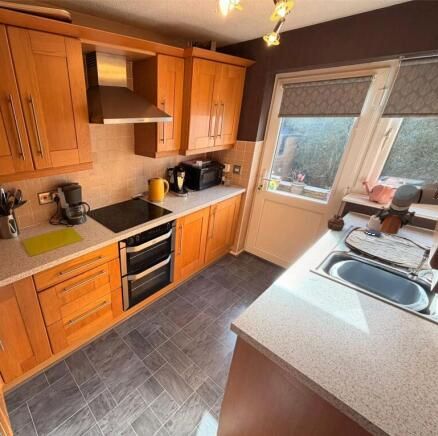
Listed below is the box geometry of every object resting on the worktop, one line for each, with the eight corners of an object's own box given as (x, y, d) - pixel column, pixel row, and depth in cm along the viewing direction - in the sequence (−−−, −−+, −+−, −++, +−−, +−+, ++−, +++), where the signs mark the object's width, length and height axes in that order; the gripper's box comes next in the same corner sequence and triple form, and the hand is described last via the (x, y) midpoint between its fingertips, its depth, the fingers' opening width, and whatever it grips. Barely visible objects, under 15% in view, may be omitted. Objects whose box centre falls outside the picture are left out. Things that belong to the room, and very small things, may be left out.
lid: (367, 230, 160) (368, 228, 159) (382, 235, 153) (383, 232, 153) (361, 232, 157) (362, 230, 156) (376, 237, 150) (377, 235, 149)
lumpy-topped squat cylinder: (387, 227, 165) (392, 216, 162) (387, 233, 156) (392, 221, 153) (368, 223, 171) (372, 212, 168) (367, 228, 163) (371, 217, 159)
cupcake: (344, 232, 158) (349, 218, 154) (327, 230, 162) (331, 216, 158) (340, 227, 166) (345, 214, 162) (324, 225, 170) (328, 212, 166)
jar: (400, 233, 138) (408, 215, 134) (391, 235, 136) (399, 217, 132) (385, 228, 145) (392, 211, 141) (375, 229, 144) (382, 212, 139)
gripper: (371, 206, 132) (366, 224, 148) (426, 216, 118) (414, 234, 134) (376, 196, 134) (370, 215, 149) (430, 204, 119) (417, 224, 135)
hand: (391, 224), depth 142 cm, fingers closed on jar, 8 cm apart
